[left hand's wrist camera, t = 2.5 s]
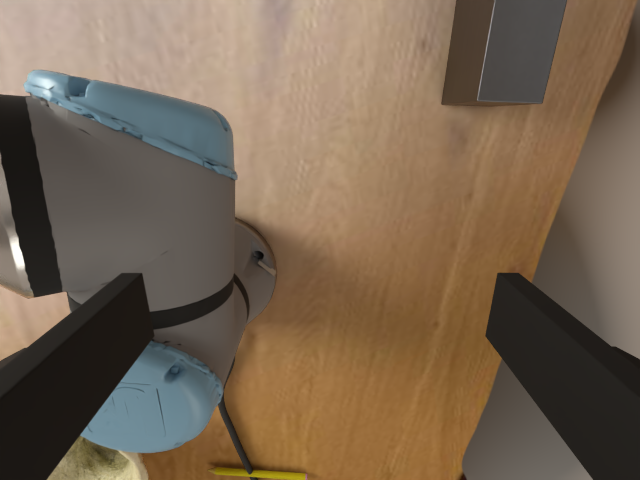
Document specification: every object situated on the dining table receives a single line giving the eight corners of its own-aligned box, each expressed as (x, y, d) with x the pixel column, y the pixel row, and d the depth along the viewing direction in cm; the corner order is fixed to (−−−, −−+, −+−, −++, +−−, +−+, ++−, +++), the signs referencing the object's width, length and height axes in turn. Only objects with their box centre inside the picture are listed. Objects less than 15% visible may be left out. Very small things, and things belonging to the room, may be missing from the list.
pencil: (307, 471, 57) (306, 477, 56) (306, 476, 57) (306, 482, 56) (207, 465, 57) (205, 470, 56) (207, 469, 57) (205, 475, 56)
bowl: (124, 441, 61) (15, 479, 51) (141, 372, 54) (17, 400, 44) (143, 524, 52) (15, 589, 42) (165, 454, 45) (18, 513, 35)
